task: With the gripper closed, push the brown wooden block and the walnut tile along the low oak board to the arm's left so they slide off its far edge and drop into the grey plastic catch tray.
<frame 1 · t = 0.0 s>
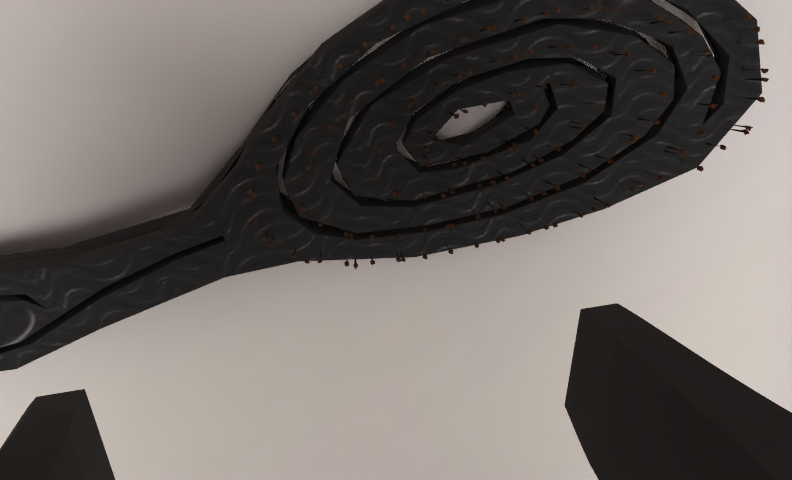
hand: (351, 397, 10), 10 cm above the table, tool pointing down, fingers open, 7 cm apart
hairbrush: (285, 174, 20), on the table
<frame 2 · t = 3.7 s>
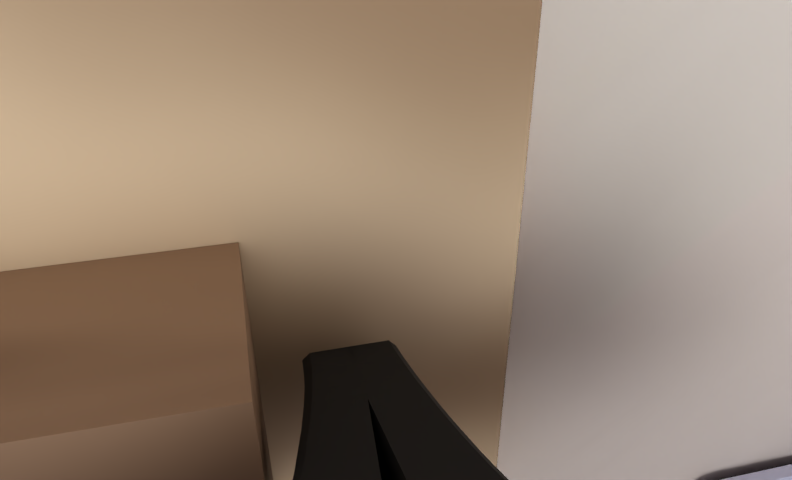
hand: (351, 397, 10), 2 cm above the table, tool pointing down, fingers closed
brown wooden block: (85, 408, 10), point 2 cm above the table, touching gripper
oak board: (35, 352, 11), on the table
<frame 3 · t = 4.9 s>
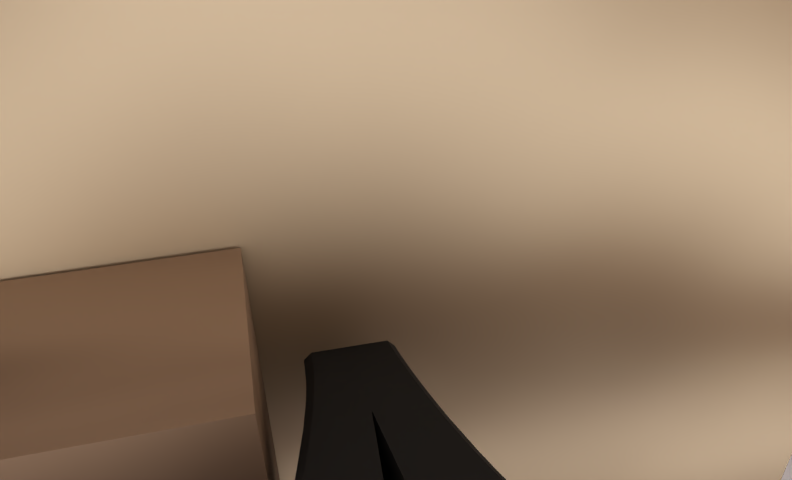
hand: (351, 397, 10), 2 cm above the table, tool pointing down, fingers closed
brown wooden block: (91, 413, 10), point 2 cm above the table, touching gripper
oak board: (446, 289, 13), on the table
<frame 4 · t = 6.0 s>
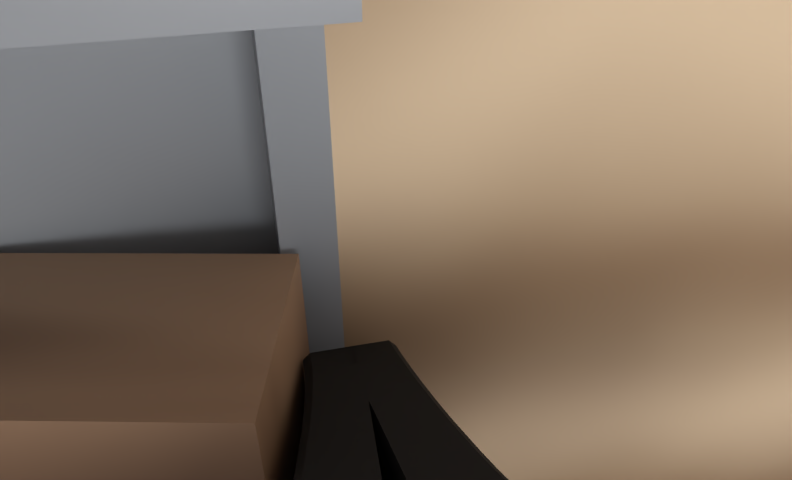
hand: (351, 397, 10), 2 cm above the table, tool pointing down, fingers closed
brown wooden block: (153, 386, 11), point 1 cm above the table, tilted 15°, touching gripper, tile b
oak board: (715, 248, 14), on the table
catch tray: (331, 306, 12), on the table
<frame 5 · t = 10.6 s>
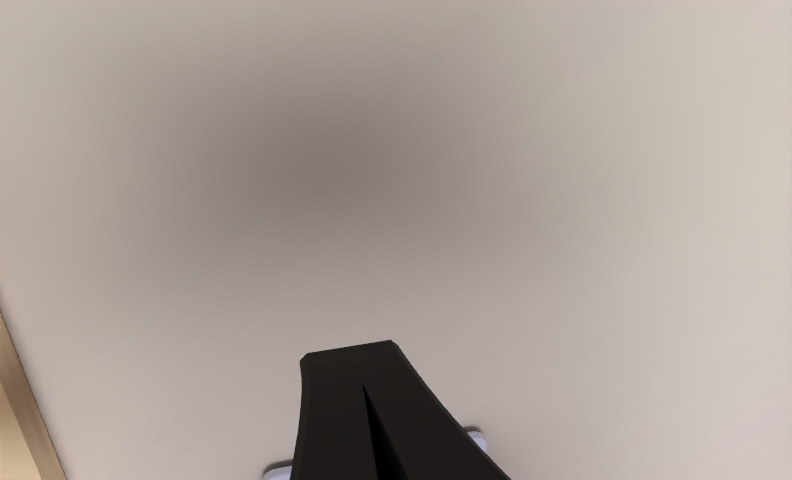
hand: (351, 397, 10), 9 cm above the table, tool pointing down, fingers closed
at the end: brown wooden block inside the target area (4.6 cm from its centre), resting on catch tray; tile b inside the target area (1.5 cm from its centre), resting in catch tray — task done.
